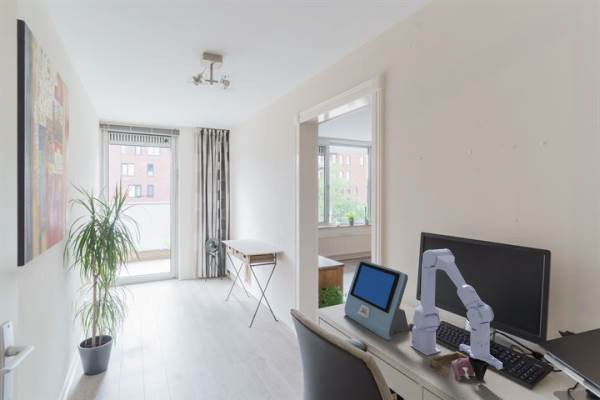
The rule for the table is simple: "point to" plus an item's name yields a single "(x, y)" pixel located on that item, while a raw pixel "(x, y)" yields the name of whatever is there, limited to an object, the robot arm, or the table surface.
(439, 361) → the docking cradle
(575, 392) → the table surface
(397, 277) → the touchscreen device
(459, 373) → the video game controller
